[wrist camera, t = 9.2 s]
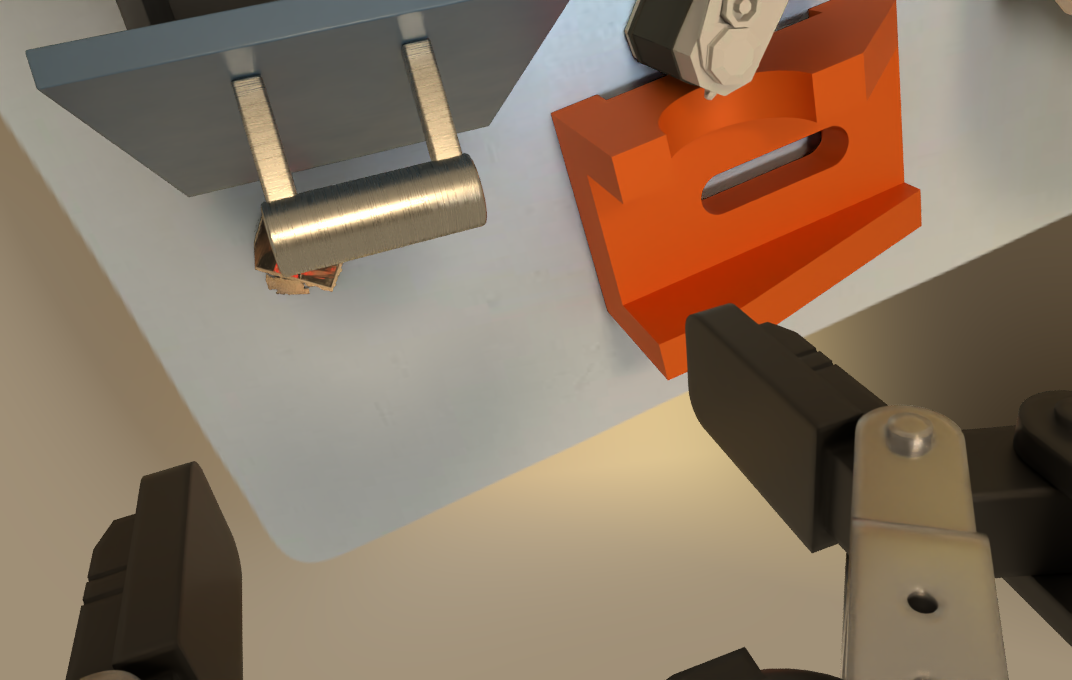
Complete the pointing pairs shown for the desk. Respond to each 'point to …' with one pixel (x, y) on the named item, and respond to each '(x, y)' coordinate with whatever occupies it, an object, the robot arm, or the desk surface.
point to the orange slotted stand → (758, 204)
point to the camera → (704, 39)
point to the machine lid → (310, 108)
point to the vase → (1065, 5)
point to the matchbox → (317, 277)
